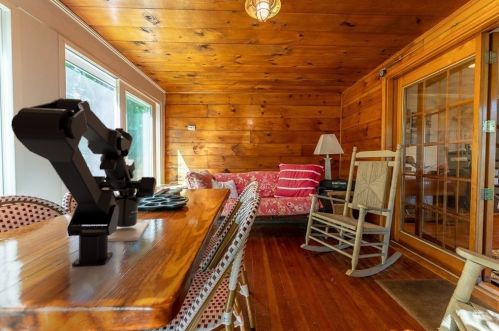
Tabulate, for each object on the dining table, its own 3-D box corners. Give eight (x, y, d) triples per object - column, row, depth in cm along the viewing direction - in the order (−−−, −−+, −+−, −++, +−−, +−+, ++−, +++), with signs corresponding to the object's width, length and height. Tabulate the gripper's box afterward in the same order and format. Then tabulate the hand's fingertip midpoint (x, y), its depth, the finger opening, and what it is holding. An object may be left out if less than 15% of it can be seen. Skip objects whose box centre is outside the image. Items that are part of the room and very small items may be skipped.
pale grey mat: (138, 240, 76) (138, 237, 76) (91, 241, 73) (91, 239, 73) (148, 224, 93) (148, 222, 93) (111, 225, 91) (111, 223, 91)
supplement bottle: (136, 227, 82) (139, 188, 82) (112, 228, 80) (114, 187, 80) (136, 222, 89) (138, 185, 89) (113, 222, 86) (115, 185, 86)
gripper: (155, 150, 81) (161, 183, 92) (89, 148, 79) (104, 183, 90) (149, 178, 74) (156, 210, 85) (75, 177, 71) (93, 210, 82)
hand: (127, 202), depth 85 cm, fingers closed on supplement bottle, 7 cm apart
